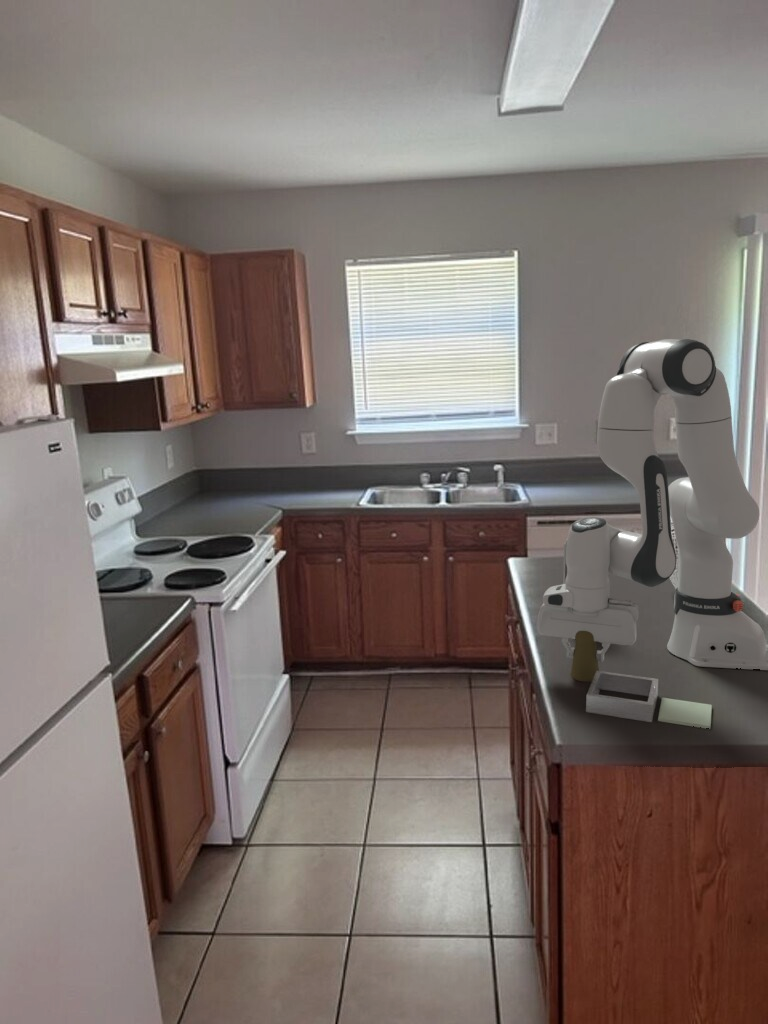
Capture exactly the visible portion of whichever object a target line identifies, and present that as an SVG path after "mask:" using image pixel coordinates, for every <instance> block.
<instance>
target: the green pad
mask: <svg viewBox="0 0 768 1024" xmlns="http://www.w3.org/2000/svg"><path fill="white" fill-rule="evenodd" d="M712 707H713V705H712V704H710V703H709V704H708V703H702V702H696V701H694V702H693V701H689V700H683V699H682V700H681V699H675V698H674V699H673V698H666V697H661V701H660V707H659V712H658V718H657V722H662V723H669V724H675V725H681V726H689V727H693V726H694V728H700V727H701V728H700V729H706V728H709V729H708V730H711V727H712V726H711V724H712V711H713V710H712Z"/></svg>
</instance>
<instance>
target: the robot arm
mask: <svg viewBox="0 0 768 1024" xmlns="http://www.w3.org/2000/svg"><path fill="white" fill-rule="evenodd" d="M727 385H728V384H727V381H726V378H725V375H724V373H723V372H722V371H721V370H720V369H718V368H717V366H716V361H715V356H714V355H713V353H712V350H711V349H710V348H709V347H708V346H707V345H706V344H705V343H704V342H701V341H698V340H695V339H690V338H685V339H676V338H667V339H666V338H664V339H660V340H655V341H645V342H641V343H638V344H635V345H633V346H631V347H630V348H629V349H628V350H627V351H626V352H625V353H624V355H623V356H622V359H621V361H620V363H619V367H618V370H617V373H616V375H614V376H613V377H612V378H610V379H609V380H608V381H607V382H606V384H605V387H604V389H603V394H602V398H601V402H600V408H599V412H598V420H597V422H598V424H597V434H596V446H597V453H598V456H599V457H600V459H601V460H602V462H603V463H604V464H605V465H606V467H608V468H609V469H610V470H612V471H613V472H615V473H616V474H618V475H620V477H623V478H624V479H625V480H626V481H628V482H629V483H630V485H632V487H633V488H634V489H635V490H636V492H637V494H638V498H639V502H640V503H639V505H640V507H639V508H640V521H641V533H637V532H633V531H629V530H627V529H622V528H618V527H615V526H612V525H610V524H609V523H608V521H607V520H605V519H603V518H600V517H595V516H592V517H591V516H589V517H583V518H579V519H576V521H573V522H572V523H571V525H570V527H569V529H568V533H567V536H566V537H567V539H566V540H567V545H566V565H567V569H568V572H567V576H566V581H565V584H563V583H562V584H557V585H553V586H549V587H548V589H546V590H545V592H544V594H543V596H542V605H541V606H540V608H539V610H538V615H537V619H536V621H537V622H536V630H537V632H538V633H539V635H541V636H549V637H555V638H556V637H557V638H561V644H562V645H563V646H564V648H565V649H566V658H573V657H574V649H575V646H572V645H571V643H570V639H573V640H574V639H575V635H576V633H577V632H578V631H588V632H590V633H592V635H593V637H594V641H597V642H596V643H601V647H603V648H602V649H601V650H597V653H596V657H597V658H596V661H598V662H602V663H603V662H605V655H606V654H605V653H606V652H608V650H609V648H610V646H611V644H613V645H614V644H615V645H623V646H632V645H633V644H634V643H636V641H637V631H638V630H637V620H639V616H640V609H639V606H638V605H637V604H636V603H634V602H632V600H630V599H625V600H624V599H618V598H610V579H609V575H615V576H619V577H622V578H623V579H624V578H625V579H628V580H631V581H633V582H636V583H638V584H641V585H644V586H645V587H649V588H654V587H657V586H659V585H661V584H663V583H664V582H666V581H667V580H669V577H670V576H671V575H672V574H673V572H674V570H676V559H677V557H678V556H679V567H678V579H677V580H678V587H677V588H676V589H675V593H674V597H673V599H674V600H673V610H674V620H673V625H672V629H671V634H670V637H669V640H668V642H667V645H666V648H667V650H668V652H669V653H671V654H672V655H675V657H678V658H681V659H683V660H685V661H687V662H689V664H691V665H693V666H696V667H704V668H723V669H736V668H738V669H739V670H753V669H760V671H768V643H767V640H766V636H765V632H764V630H763V628H762V627H761V625H759V623H758V622H756V621H755V620H753V619H752V618H751V617H749V616H748V614H746V613H744V611H742V610H743V608H744V603H743V601H741V597H740V595H739V593H736V594H735V592H732V583H733V582H732V581H733V570H734V569H733V568H734V560H733V557H732V554H731V552H730V551H729V549H728V546H727V545H726V541H725V539H731V540H733V539H734V540H735V539H737V540H738V539H742V538H745V537H747V536H748V535H749V534H750V533H752V532H753V531H754V529H755V528H756V527H757V525H758V522H759V520H760V508H759V505H758V503H757V501H756V500H755V499H754V497H753V496H752V495H751V494H750V492H749V490H748V488H747V486H746V483H745V482H744V478H743V476H742V473H741V470H740V466H739V464H738V461H737V457H736V453H735V447H734V433H733V432H734V431H733V421H732V419H733V417H732V407H731V399H730V394H729V390H728V386H727ZM662 395H664V396H665V395H670V397H671V398H672V400H673V402H674V421H675V433H676V436H675V437H676V445H677V446H676V447H677V456H678V459H679V461H680V463H681V464H682V466H683V467H684V469H685V471H686V474H687V477H686V476H685V477H680V478H677V479H675V480H674V481H672V482H671V483H670V484H669V483H668V482H669V481H668V474H667V468H666V465H665V463H664V461H663V459H661V458H660V457H659V454H658V452H657V448H656V445H655V444H656V443H655V438H654V437H655V436H654V433H655V432H654V431H655V430H654V429H655V410H656V409H655V408H656V407H657V404H658V402H659V399H660V398H661V397H662ZM670 516H671V519H672V523H671V520H670ZM672 524H673V527H674V529H673V532H675V537H676V539H675V542H677V543H676V544H677V546H676V547H677V549H678V550H677V552H678V554H676V553H675V549H676V547H675V548H674V543H673V542H674V539H673V540H672V535H673V534H671V527H672V526H671V525H672ZM676 555H678V556H676ZM673 575H674V574H673ZM740 668H741V669H740Z"/></svg>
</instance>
